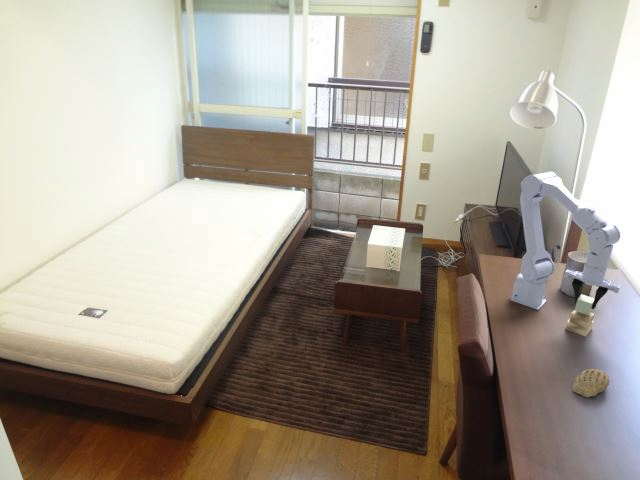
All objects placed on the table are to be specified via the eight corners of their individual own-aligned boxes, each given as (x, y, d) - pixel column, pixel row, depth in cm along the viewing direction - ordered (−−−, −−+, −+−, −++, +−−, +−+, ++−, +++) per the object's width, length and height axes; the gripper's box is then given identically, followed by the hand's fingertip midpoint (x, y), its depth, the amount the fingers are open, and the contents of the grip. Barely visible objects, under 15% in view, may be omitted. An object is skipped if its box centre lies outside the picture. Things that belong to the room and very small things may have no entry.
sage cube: (574, 310, 147) (577, 299, 146) (578, 305, 150) (581, 294, 148) (588, 315, 145) (592, 303, 143) (592, 310, 148) (595, 298, 146)
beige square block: (569, 321, 149) (571, 313, 148) (575, 315, 152) (577, 307, 151) (586, 328, 146) (588, 319, 145) (592, 322, 149) (594, 313, 148)
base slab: (565, 329, 150) (567, 321, 149) (570, 321, 154) (572, 313, 153) (585, 337, 147) (588, 329, 146) (591, 329, 151) (593, 321, 150)
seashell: (602, 411, 122) (608, 377, 127) (607, 401, 118) (613, 366, 123) (568, 400, 126) (576, 367, 131) (572, 389, 121) (580, 356, 127)
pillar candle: (591, 289, 173) (601, 251, 167) (588, 301, 166) (599, 262, 160) (561, 282, 178) (570, 245, 172) (557, 293, 170) (566, 255, 164)
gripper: (565, 261, 143) (555, 301, 149) (620, 277, 134) (608, 319, 140) (572, 254, 148) (563, 292, 153) (626, 269, 139) (614, 309, 145)
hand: (585, 304), depth 147 cm, fingers closed on sage cube, 4 cm apart
